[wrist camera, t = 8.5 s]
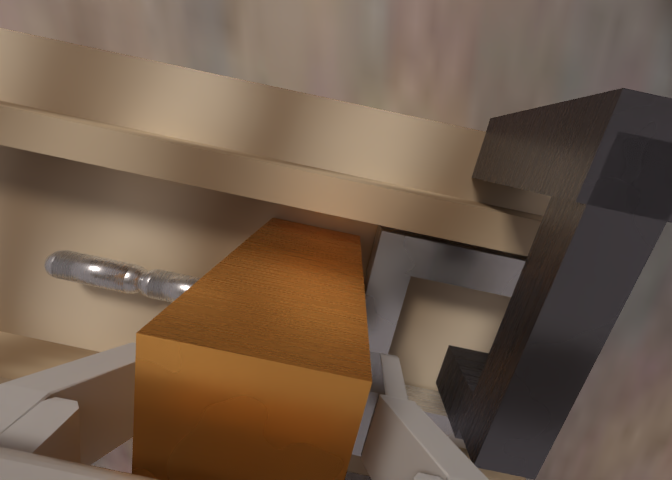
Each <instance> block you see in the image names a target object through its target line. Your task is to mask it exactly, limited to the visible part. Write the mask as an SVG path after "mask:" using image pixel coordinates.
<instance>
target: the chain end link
mask: <svg viewBox="0 0 672 480" xmlns="http://www.w3.org/2000/svg"><path fill="white" fill-rule="evenodd" d="M526 259H527V256H523V255H518V254H514V253H509V252H504V251H499V250H495V249H490V248H485V247H481V246H476V245H471V244H466V243H462V242H457V241H452V240H447V239H443V238H438V237H433V236H429V235H424V234H419V233H414V232H410V231H405V230H400V229H395V228H391V227H386V226H381V225H378V227H377V231H376V235H375V239H374V243H373V247H372V251H371V255H370V259H369V263H368V267H367V271H366V275H365V279H364V278H363V266H362V254H361V242H360V236H358V235H353V234H349V233H344V232H339V231H334V230H330V229H325V228H320V227H315V226H311V225H306V224H301V223H297V222H292V221H287V220H282V219H278V218H271V219H270V220H269V221H268V222H267V223H266V224H264V225H263V226H262V227H261V228H260V229H258V230H257V231H256V232H255V233H254V234H253V235H251V236H250V237H249V238H248V239H247V240H245V241H244V242H243V243H242V244H241V245H240V246H238V247H237V248H236V249H235V250H234V251H232V252H231V253H230V254H229V255H228V256H227V257H225V258H224V259H223V260H222V261H221V262H219V263H218V264H217V265H216V266H215V267H213V268H212V269H211V270H210V271H209V272H208V273H206V274H205V275H204V276H203V277H202V278H198V277H194V276H189V275H184V274H179V273H175V272H170V271H165V270H160V269H153V270H150V271H147V270H146V269H145V268H144V267H142V266H140V265H136V264H132V263H127V262H122V261H117V260H112V259H108V258H103V257H98V256H93V255H89V254H84V253H79V252H74V251H69V250H60V251H56V252H54V253H52V254H50V255H49V256H48V257H47V259H46V260H45V263H44V267H45V270H46V272H47V273H48V274H49V275H50V276H52V277H54V278H57V279H61V280H66V281H71V282H75V283H80V284H85V285H90V286H95V287H99V288H104V289H109V290H114V291H119V292H123V293H129V294H134V293H138V292H141V293H142V294H143V295H144V296H146V297H148V298H152V299H157V300H162V301H166V302H171V304H170V305H169V306H167V307H166V308H165V309H164V310H163V311H161V312H160V313H159V314H158V315H157V316H156V317H154V318H153V319H152V320H151V321H150V322H148V323H147V324H146V325H145V326H144V327H143V328H141V329H140V330H139V331H138V332H137V333H136V357H135V390H134V424H133V457H132V474H135V475H140V476H144V477H149V478H154V479H159V480H345V476H346V473H347V469H348V466H349V462H350V458H351V455H352V451H353V448H354V444H355V441H356V437H357V434H358V430H359V427H360V423H361V420H362V416H363V413H364V409H365V406H366V402H367V399H368V395H369V392H370V388H371V385H372V373H371V361H370V351H371V352H377V353H384V354H388V352H389V349H390V346H391V342H392V339H393V335H394V332H395V328H396V325H397V322H398V318H399V315H400V311H401V308H402V305H403V301H404V298H405V294H406V291H407V287H408V284H409V281H410V277H411V276H413V277H418V278H422V279H427V280H432V281H436V282H441V283H446V284H451V285H455V286H460V287H465V288H470V289H474V290H479V291H484V292H489V293H493V294H498V295H503V296H508V297H512V294H513V291H514V289H515V286H516V284H517V281H518V279H519V276H520V274H521V271H522V269H523V266H524V264H525V261H526ZM405 386H406V391H407V395H408V400H410V401H414V402H415V403H416V404H417V405H418V406H419V407H420V408H421V409H422V410H423V411H424V412H425V413H426V414H427V415H428V416H429V417H430V418H431V420H432V421H433V422H434V423H435V424H436V425H437V426H438V427H439V428H440V429H441V430H442V431H443V432H444V433H445V434H446V435H447V436H448V437H449V438H450V439H451V441H452V442H453V443H454V444H455V445H456V446H457V447H460V448H465V449H466V446H465V444H464V441H463V439H458V438H455V436H454V433H453V430H452V427H451V424H450V422H449V419H448V416H447V413H446V410H445V408H444V405H443V402H442V399H441V396H440V394H439V391H434V390H429V389H425V388H420V387H415V386H410V385H405Z"/></svg>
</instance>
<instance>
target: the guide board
mask: <svg viewBox="0 0 672 480" xmlns="http://www.w3.org/2000/svg"><path fill="white" fill-rule="evenodd" d="M485 134H486V132H483V131H479V130H474V129H469V128H465V127H460V126H455V125H451V124H446V123H441V122H437V121H432V120H427V119H423V118H418V117H413V116H409V115H404V114H399V113H395V112H390V111H385V110H381V109H376V108H371V107H367V106H362V105H357V104H353V103H348V102H343V101H339V100H334V99H329V98H325V97H320V96H315V95H311V94H306V93H301V92H297V91H292V90H287V89H283V88H278V87H273V86H269V85H264V84H259V83H255V82H250V81H245V80H241V79H236V78H231V77H227V76H222V75H217V74H213V73H208V72H203V71H199V70H194V69H189V68H185V67H180V66H175V65H171V64H166V63H161V62H157V61H152V60H147V59H143V58H138V57H133V56H129V55H124V54H119V53H115V52H110V51H105V50H101V49H96V48H91V47H87V46H82V45H77V44H73V43H68V42H63V41H59V40H54V39H49V38H45V37H40V36H35V35H31V34H26V33H21V32H17V31H12V30H7V29H3V28H0V384H2V383H5V382H8V381H11V380H14V379H17V378H20V377H24V376H27V375H30V374H33V373H36V372H39V371H43V370H46V369H49V368H52V367H55V366H59V365H62V364H65V363H68V362H71V361H74V360H78V359H81V358H84V357H87V356H90V355H93V354H97V353H100V352H103V351H106V350H109V349H113V348H116V347H119V346H122V345H125V344H128V343H132V342H133V343H136V333H137V332H138V331H139V330H140V329H141V328H143V327H144V326H145V325H146V324H147V323H148V322H150V321H151V320H152V319H153V318H154V317H156V316H157V315H158V314H159V313H160V312H161V311H163V310H164V309H165V308H166V307H167V306H169V305H170V304H171V302H166V301H162V300H157V299H152V298H148V297H146V296H144V295H143V294H142V293H141V292H138V293H134V294H129V293H123V292H119V291H114V290H109V289H104V288H99V287H95V286H90V285H85V284H80V283H75V282H71V281H66V280H61V279H57V278H54V277H52V276H50V275H49V274H48V273H47V272H46V270H45V267H44V263H45V260H46V259H47V257H48V256H49V255H50V254H52V253H54V252H56V251H60V250H69V251H74V252H79V253H84V254H89V255H93V256H98V257H103V258H108V259H112V260H117V261H122V262H127V263H132V264H136V265H140V266H142V267H144V268H145V269H146V270H147V271H150V270H153V269H160V270H165V271H170V272H175V273H179V274H184V275H189V276H194V277H198V278H202V277H203V276H204V275H205V274H206V273H208V272H209V271H210V270H211V269H212V268H213V267H215V266H216V265H217V264H218V263H219V262H221V261H222V260H223V259H224V258H225V257H227V256H228V255H229V254H230V253H231V252H232V251H234V250H235V249H236V248H237V247H238V246H240V245H241V244H242V243H243V242H244V241H245V240H247V239H248V238H249V237H250V236H251V235H253V234H254V233H255V232H256V231H257V230H258V229H260V228H261V227H262V226H263V225H264V224H266V223H267V222H268V221H269V220H270V219H271V218H278V219H282V220H287V221H292V222H297V223H301V224H306V225H311V226H315V227H320V228H325V229H330V230H334V231H339V232H344V233H349V234H353V235H358V236H360V242H361V254H362V266H363V278H364V279H365V275H366V271H367V267H368V263H369V259H370V255H371V251H372V247H373V243H374V239H375V235H376V231H377V227H378V225H381V226H386V227H391V228H395V229H400V230H405V231H410V232H414V233H419V234H424V235H429V236H433V237H438V238H443V239H447V240H452V241H457V242H462V243H466V244H471V245H476V246H481V247H485V248H490V249H495V250H499V251H504V252H509V253H514V254H518V255H523V256H528V254H529V251H530V249H531V246H532V244H533V241H534V239H535V236H536V234H537V231H538V229H539V226H540V224H541V221H542V219H543V216H544V213H545V211H546V208H547V206H548V203H549V201H550V198H551V196H548V195H543V194H539V193H535V192H531V191H526V190H522V189H518V188H514V187H509V186H505V185H501V184H496V183H492V182H488V181H484V180H479V179H475V178H472V174H473V171H474V168H475V165H476V162H477V159H478V156H479V153H480V149H481V146H482V143H483V140H484V137H485ZM510 299H511V297H508V296H503V295H498V294H493V293H489V292H484V291H479V290H474V289H470V288H465V287H460V286H455V285H451V284H446V283H441V282H436V281H432V280H427V279H422V278H418V277H413V276H411V277H410V281H409V284H408V287H407V291H406V294H405V298H404V301H403V305H402V308H401V311H400V315H399V318H398V322H397V325H396V328H395V332H394V335H393V339H392V342H391V346H390V349H389V352H388V354H390V355H395V356H398V358H399V360H400V365H401V369H402V373H403V378H404V382H405V385H410V386H415V387H420V388H425V389H429V390H434V391H438V388H437V385H436V380H437V377H438V374H439V372H440V369H441V366H442V363H443V360H444V357H445V355H446V352H447V349H448V346H449V345H451V346H456V347H461V348H466V349H470V350H475V351H480V352H485V353H489V352H490V349H491V347H492V344H493V342H494V339H495V337H496V334H497V332H498V329H499V327H500V324H501V322H502V319H503V317H504V314H505V312H506V309H507V307H508V304H509V302H510ZM458 448H459V449H460V450H461V451H462V452H463V453H464V454H465V455H466V456H467V457H468V458H469V459H470V457H469V454H468V451H467V449H465V448H460V447H458ZM470 460H471V459H470ZM478 469H479V470H480V471H481V472H482V473H483V474H484V475H485V476H486V477H487V478H488V479H489V480H526V478H525V477H520V476H515V475H510V474H505V473H501V472H496V471H491V470H486V469H481V468H478ZM347 472H352V473H357V474H362V475H366V476H369V474H368V472H367V470H366V468H365V466H364V464H363V462H362V460H361V456H357V455H353V454H352V455H351V458H350V462H349V466H348V469H347Z"/></svg>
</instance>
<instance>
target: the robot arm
mask: <svg viewBox="0 0 672 480" xmlns="http://www.w3.org/2000/svg"><path fill="white" fill-rule="evenodd" d="M135 357H136V343H133V342H132V343H128V344H125V345H122V346H119V347H116V348H113V349H109V350H106V351H103V352H100V353H97V354H93V355H90V356H87V357H84V358H81V359H78V360H74V361H71V362H68V363H65V364H62V365H59V366H55V367H52V368H49V369H46V370H43V371H39V372H36V373H33V374H30V375H27V376H24V377H20V378H17V379H14V380H11V381H8V382H5V383H2V384H0V480H159V479H154V478H149V477H144V476H140V475H135V474H130V473H125V472H120V471H115V470H111V469H106V468H101V467H96V466H91V464H92V463H94V462H95V461H97V460H98V459H100V458H101V457H103V456H105V455H106V454H108V453H109V452H111V451H112V450H114V449H115V448H117V447H118V446H120V445H121V444H123V443H124V442H126V441H127V440H129V439H130V438H132V437H133V424H134V390H135ZM370 361H371V373H372V385H371V388H370V392H369V395H368V399H367V402H366V406H365V409H364V413H363V416H362V420H361V423H360V427H359V430H358V434H357V437H356V441H355V444H354V448H353V451H352V454H353V455H357V456H361V460H362V462H363V464H364V466H365V468H366V470H367V472H368V474H369V476H370V478H371V480H489V479H488V478H487V477H486V476H485V475H484V474H483V473H482V472H481V471H480V470H479V469H478V468H477V467H476V466H475V465H474V464H473V463H472V462H471V460H470V459H469V458H468V457H467V456H466V455H465V454H464V453H463V452H462V451H461V450H460V449H459V448H458V447H457V446H456V445H455V444H454V443H453V442H452V441H451V439H450V438H449V437H448V436H447V435H446V434H445V433H444V432H443V431H442V430H441V429H440V428H439V427H438V426H437V425H436V424H435V423H434V422H433V421H432V420H431V418H430V417H429V416H428V415H427V414H426V413H425V412H424V411H423V410H422V409H421V408H420V407H419V406H418V405H417V404H416V403H415V402H414V401H410V400H408V395H407V391H406V386H405V382H404V378H403V373H402V369H401V365H400V360H399V358H398V356H395V355H390V354H384V353H377V352H371V351H370Z"/></svg>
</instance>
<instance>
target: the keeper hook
mask: <svg viewBox="0 0 672 480" xmlns="http://www.w3.org/2000/svg"><path fill="white" fill-rule="evenodd" d="M472 178H475V179H479V180H484V181H488V182H492V183H496V184H501V185H505V186H509V187H514V188H518V189H522V190H526V191H531V192H535V193H539V194H543V195H548V196H551V198H550V201H549V203H548V206H547V208H546V211H545V213H544V216H543V219H542V221H541V224H540V226H539V229H538V231H537V234H536V236H535V239H534V241H533V244H532V246H531V249H530V251H529V254H528V256H527V259H526V261H525V264H524V266H523V269H522V271H521V274H520V276H519V279H518V281H517V284H516V286H515V289H514V291H513V294H512V297H511V299H510V302H509V304H508V307H507V309H506V312H505V314H504V317H503V319H502V322H501V324H500V327H499V329H498V332H497V334H496V337H495V339H494V342H493V344H492V347H491V349H490V352H489V353H485V352H480V351H475V350H470V349H466V348H461V347H456V346H451V345H449V346H448V349H447V352H446V355H445V357H444V360H443V363H442V366H441V369H440V372H439V374H438V377H437V380H436V385H437V388H438V391H439V394H440V396H441V399H442V402H443V405H444V408H445V410H446V413H447V416H448V419H449V422H450V424H451V427H452V430H453V433H454V436H455V438H458V439H463V441H464V444H465V446H466V449H467V451H468V454H469V457H470V459H471V462H472V463H473V464H474V465H475V466H476V467H477V468H481V469H486V470H491V471H496V472H501V473H505V474H510V475H515V476H520V477H525V478H530V479H534V480H535V478H536V476H537V474H538V472H539V470H540V469H541V467H542V465H543V463H544V461H545V459H546V457H547V455H548V453H549V451H550V449H551V447H552V445H553V443H554V441H555V439H556V437H557V435H558V433H559V431H560V430H561V428H562V426H563V424H564V422H565V420H566V418H567V416H568V414H569V412H570V410H571V408H572V406H573V404H574V402H575V400H576V398H577V396H578V394H579V392H580V390H581V389H582V387H583V385H584V383H585V381H586V379H587V377H588V375H589V373H590V371H591V369H592V367H593V365H594V363H595V361H596V359H597V357H598V355H599V353H600V351H601V349H602V348H603V346H604V344H605V342H606V340H607V338H608V336H609V334H610V332H611V330H612V328H613V326H614V324H615V322H616V320H617V318H618V316H619V314H620V312H621V310H622V308H623V307H624V305H625V303H626V301H627V299H628V297H629V295H630V293H631V291H632V289H633V287H634V285H635V283H636V281H637V279H638V277H639V275H640V273H641V271H642V269H643V267H644V266H645V264H646V262H647V260H648V258H649V256H650V254H651V252H652V250H653V248H654V246H655V244H656V242H657V240H658V238H659V236H660V234H661V232H662V230H663V228H664V227H665V225H666V223H667V222H671V223H672V98H667V97H662V96H658V95H653V94H648V93H644V92H639V91H634V90H630V89H625V88H622V89H617V90H613V91H608V92H604V93H600V94H595V95H591V96H586V97H582V98H578V99H573V100H569V101H564V102H560V103H556V104H551V105H547V106H543V107H538V108H534V109H529V110H525V111H521V112H516V113H512V114H507V115H503V116H499V117H494V118H490V121H489V124H488V128H487V131H486V134H485V137H484V140H483V143H482V146H481V149H480V153H479V156H478V159H477V162H476V165H475V168H474V171H473V174H472Z"/></svg>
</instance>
